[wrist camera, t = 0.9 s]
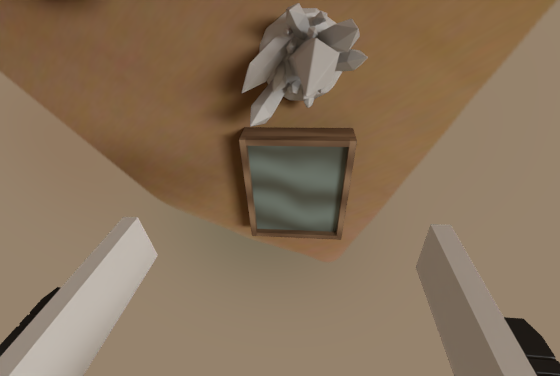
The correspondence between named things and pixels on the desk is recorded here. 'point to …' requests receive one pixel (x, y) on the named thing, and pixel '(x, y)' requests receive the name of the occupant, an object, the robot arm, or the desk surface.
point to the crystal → (300, 59)
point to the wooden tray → (297, 180)
